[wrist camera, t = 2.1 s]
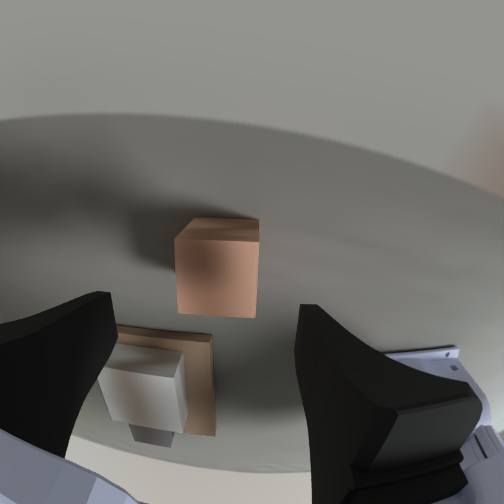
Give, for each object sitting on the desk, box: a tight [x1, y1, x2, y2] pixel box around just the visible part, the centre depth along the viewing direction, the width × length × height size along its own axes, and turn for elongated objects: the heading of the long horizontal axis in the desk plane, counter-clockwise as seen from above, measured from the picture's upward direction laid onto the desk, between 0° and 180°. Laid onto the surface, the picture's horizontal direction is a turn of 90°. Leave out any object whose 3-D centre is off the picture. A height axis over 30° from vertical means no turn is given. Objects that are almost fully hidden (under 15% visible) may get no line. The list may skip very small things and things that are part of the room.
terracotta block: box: [174, 217, 259, 318], centre depth 17 cm, size 4×4×5 cm
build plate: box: [98, 325, 216, 447], centre depth 21 cm, size 10×11×4 cm
